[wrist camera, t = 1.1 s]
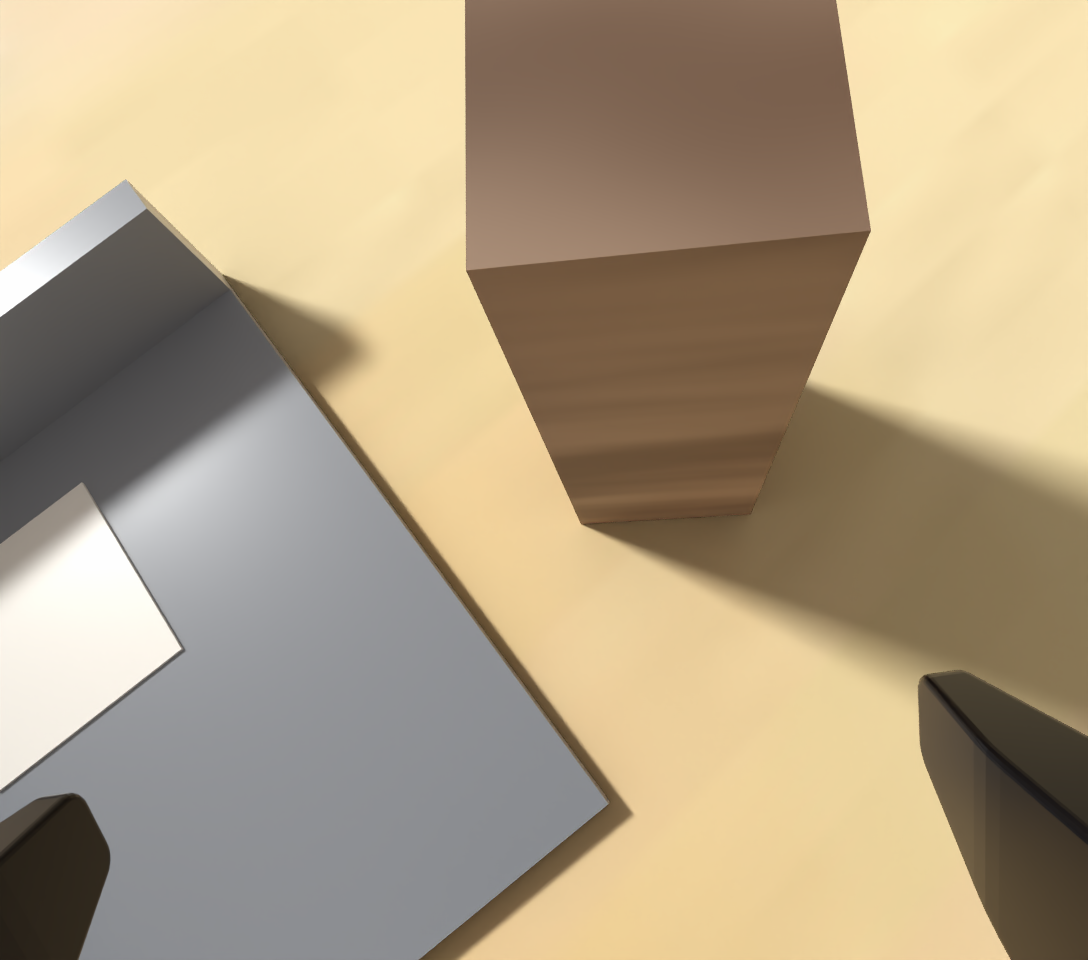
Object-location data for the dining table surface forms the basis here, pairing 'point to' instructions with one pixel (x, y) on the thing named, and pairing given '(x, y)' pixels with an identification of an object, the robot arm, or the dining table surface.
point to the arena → (238, 632)
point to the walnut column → (660, 232)
